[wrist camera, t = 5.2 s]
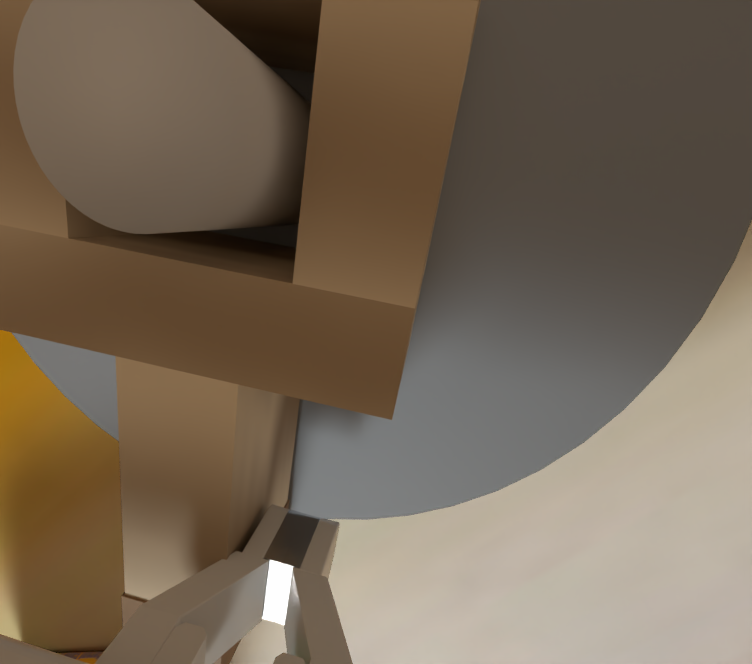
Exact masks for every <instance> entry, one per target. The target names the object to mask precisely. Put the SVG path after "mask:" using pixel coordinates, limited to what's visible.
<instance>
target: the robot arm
mask: <svg viewBox="0 0 752 664" xmlns="http://www.w3.org/2000/svg"><path fill="white" fill-rule="evenodd" d="M338 531H339V522H335V521H331V520H327V519H324V518H319V517H315V516H312V515H308V514H304V513H301V512H298V511H295V510H291V509H290V510H289V509H286V508H283V507H280V506H277V505H273V504H272V505H271V506H270V507H269V508H268V510H267V511H266V513H265V515H264V516H263V518H262V520H261V521H260V523H259V525H258V526H257V528H256V530H255V531H254V533H253V535H252V536H251V538H250V540H249V541H248V543H247V545H246V546H245V548H244V550H243V551H242V552H238V551H235V552H234V553H232V554H230V556H229V557H228V559H227V560H224V559H221V560H220V561H218V562H216V563H214V564H212V565H211V566H209V567H207V568H205V569H204V570H202V571H200V572H198V573H197V574H195V575H193V576H191V577H189V578H188V579H186V580H184V581H182V582H181V583H179V584H177V585H175V586H174V587H172V588H170V589H168V590H166V591H165V592H163V593H161V594H159V595H158V596H156V597H154V598H152V599H151V600H149V601H147V602H145V603H143V604H142V605H140V606H139V608H138V609H137V610H136V611H135V613H134V614H133V615H132V616H131V618H130V619H129V620H128V622H127V623H126V624H125V625H124V627H123V628H122V629H121V631H120V632H119V633H118V634H117V636H116V637H115V638H114V639H113V641H112V642H111V643H110V645H109V646H108V647H107V648H106V650H105V651H104V652H103V653H102V655H101V656H100V657H99V659H98V660H97V661H96V662H95V664H213V663H214V662H215V661H216V660H218V659H219V658H220V657H221V656H222V655H223V654H224V653H225V652H227V651H228V650H229V649H230V648H231V647H232V646H233V645H235V644H236V643H237V642H238V641H239V640H240V639H241V638H243V637H244V636H245V635H246V634H247V633H248V632H249V631H251V630H252V629H253V628H254V627H255V626H256V625H257V624H258V623H260V622H261V621H262V618H263V619H267V620H270V621H274V622H277V623H280V624H283V625H284V630H285V638H286V646H287V654H286V653H282V654H281V655H279V656H277V657H276V658H275V660H274V663H273V664H353V663H352V660H351V656H350V653H349V650H348V646H347V643H346V639H345V636H344V633H343V629H342V626H341V623H340V619H339V616H338V612H337V609H336V606H335V602H334V599H333V595H332V592H331V589H330V585H329V582H328V578H329V574H330V570H331V565H332V561H333V557H334V552H335V547H336V541H337V536H338ZM0 664H88V663H85V662H82V661H79V660H76V659H73V658H70V657H67V656H64V655H61V654H58V653H55V652H52V651H49V650H46V649H43V648H40V647H37V646H34V645H31V644H28V643H25V642H22V641H19V640H16V639H13V638H10V637H7V636H4V635H1V634H0Z"/></svg>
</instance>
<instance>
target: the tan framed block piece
mask: <svg viewBox="0 0 752 664" xmlns="http://www.w3.org/2000/svg"><path fill="white" fill-rule="evenodd" d="M32 1H33V0H0V330H4V331H9V332H13V333H17V334H22V335H26V336H30V337H35V338H39V339H43V340H48V341H52V342H56V343H61V344H65V345H69V346H74V347H78V348H82V349H87V350H91V351H95V352H100V353H104V354H108V355H113V356H115V358H116V383H117V408H118V433H119V457H120V482H121V507H122V532H123V557H124V582H125V592H124V594H123V595H122V596H121V599H122V621H123V627H124V625H125V624H126V623H127V622H128V620H129V619H130V618H131V616H132V615H133V614H134V613H135V611H136V610H137V609H138V608H139V606H140V605H142V604H143V603H145V602H147V601H149V600H151V599H152V598H154V597H156V596H158V595H159V594H161V593H163V592H165V591H166V590H168V589H170V588H172V587H174V586H175V585H177V584H179V583H181V582H182V581H184V580H186V579H188V578H189V577H191V576H193V575H195V574H197V573H198V572H200V571H202V570H204V569H205V568H207V567H209V566H211V565H212V564H214V563H216V562H218V561H220V560H221V559H224V560H227V559H228V557H229V556H230V554H232V553H234V552H235V551H238V552H242V551H243V550H244V548H245V546H246V545H247V543H248V541H249V540H250V538H251V536H252V535H253V533H254V531H255V530H256V528H257V526H258V525H259V523H260V521H261V520H262V518H263V516H264V515H265V513H266V511H267V510H268V508H269V507H270V506H271V505H272V504H273V505H277V506H280V507H283V508H286V509H288V508H289V500H288V492H289V484H290V475H291V467H292V459H293V451H294V443H295V434H296V426H297V418H298V410H299V401H300V399H303V400H307V401H312V402H316V403H320V404H324V405H329V406H333V407H337V408H342V409H346V410H350V411H355V412H359V413H363V414H368V415H372V416H376V417H381V418H385V419H389V420H392V418H393V413H394V409H395V405H396V400H397V396H398V391H399V387H400V383H401V378H402V374H403V369H404V365H405V361H406V356H407V352H408V347H409V343H410V338H411V333H412V328H413V323H414V319H415V314H416V309H417V304H418V300H419V295H420V290H421V285H422V280H423V276H424V271H425V266H426V261H427V256H428V252H429V247H430V242H431V237H432V232H433V228H434V223H435V218H436V213H437V208H438V204H439V199H440V194H441V189H442V184H443V180H444V175H445V170H446V165H447V160H448V156H449V151H450V146H451V141H452V136H453V132H454V127H455V122H456V117H457V112H458V108H459V103H460V98H461V93H462V88H463V84H464V79H465V74H466V69H467V64H468V60H469V55H470V50H471V45H472V40H473V36H474V31H475V26H476V21H477V16H478V12H479V7H480V2H481V0H194V1H195V2H196V3H197V4H198V5H199V6H200V7H202V8H203V9H204V10H205V11H206V12H207V13H208V14H210V15H211V16H212V17H213V18H214V19H215V20H216V21H217V22H219V23H220V24H221V25H222V26H223V27H224V28H225V29H227V30H228V31H229V32H230V33H231V34H232V35H233V36H235V37H236V38H237V39H238V40H239V41H240V42H241V43H243V44H244V45H245V46H246V47H247V48H248V49H249V50H251V51H252V52H253V53H254V54H255V55H256V56H257V57H259V58H260V59H261V60H262V61H263V62H264V63H265V64H266V65H268V66H269V67H276V68H282V69H289V70H296V71H303V72H309V73H314V83H313V92H312V102H311V111H310V121H309V130H308V140H307V150H306V159H305V169H304V178H303V188H302V197H301V207H300V217H299V226H298V236H297V245H296V248H293V247H288V246H283V245H278V244H272V243H267V242H262V241H257V240H252V239H247V238H241V237H236V236H231V235H226V234H221V233H215V232H210V231H205V230H204V231H188V232H173V233H157V234H133V233H127V232H122V231H119V230H115V229H112V228H109V227H107V226H104V225H102V224H100V223H98V222H96V221H94V220H93V219H91V218H89V217H88V216H86V215H84V214H83V213H82V212H80V211H79V210H78V209H76V208H75V207H74V206H73V205H71V204H70V203H69V202H68V201H67V200H66V199H65V198H64V197H63V196H62V195H61V194H60V193H59V192H58V191H57V189H56V188H55V187H54V186H53V185H52V183H51V182H50V181H49V180H48V178H47V177H46V175H45V174H44V172H43V171H42V169H41V168H40V166H39V164H38V162H37V161H36V159H35V157H34V155H33V153H32V151H31V149H30V147H29V144H28V142H27V140H26V138H25V135H24V132H23V129H22V126H21V123H20V119H19V115H18V110H17V106H16V100H15V92H14V76H13V66H14V55H15V48H16V43H17V38H18V33H19V30H20V27H21V24H22V21H23V18H24V16H25V14H26V12H27V10H28V8H29V6H30V4H31V3H32ZM240 640H241V639H240ZM240 640H239V641H238V642H237V643H236V644H235V645H233V646H232V647H231V648H230V649H229V650H228V651H227V652H225V653H224V654H223V655H222V656H221V657H220V658H219V659H218V660H216V661H215V662H214V663H213V664H229V663H230V661H231V659H232V657H233V655H234V653H235V651H236V648H237V646H238V644H239V642H240Z"/></svg>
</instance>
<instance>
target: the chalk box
mask: <svg viewBox="0 0 752 664" xmlns="http://www.w3.org/2000/svg"><path fill="white" fill-rule="evenodd" d="M103 652H104V651H103ZM103 652H71V653H58V654H61V655H64V656H67V657H70V658H73V659H76V660H79V661H82V662H85V663H88V664H95V662H96V661H97V660H98V659H99V657H100V656H101V655H102V653H103Z"/></svg>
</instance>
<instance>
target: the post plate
mask: <svg viewBox="0 0 752 664" xmlns="http://www.w3.org/2000/svg"><path fill="white" fill-rule="evenodd" d="M13 76H14V92H15V100H16V106H17V110H18V115H19V119H20V123H21V126H22V129H23V132H24V135H25V138H26V140H27V142H28V144H29V147H30V149H31V151H32V153H33V155H34V157H35V159H36V161H37V162H38V164H39V166H40V168H41V169H42V171H43V172H44V174H45V175H46V177H47V178H48V180H49V181H50V182H51V183H52V185H53V186H54V187H55V188H56V189H57V191H58V192H59V193H60V194H61V195H62V196H63V197H64V198H65V199H66V200H67V201H68V202H69V203H70V204H71V205H73V206H74V207H75V208H76V209H78V210H79V211H80V212H82V213H83V214H84V215H86V216H88V217H89V218H91V219H93V220H94V221H96V222H98V223H100V224H102V225H104V226H107V227H109V228H112V229H115V230H119V231H122V232H127V233H133V234H157V233H173V232H188V231H204V230H205V231H210V232H215V233H221V234H226V235H231V236H236V237H241V238H247V239H252V240H257V241H262V242H267V243H272V244H278V245H283V246H288V247H293V248H296V245H297V236H298V226H299V217H300V207H301V197H302V188H303V178H304V169H305V159H306V150H307V140H308V130H309V121H310V111H311V102H312V92H313V83H314V73H309V72H303V71H296V70H289V69H282V68H276V67H269V66H268V65H266V64H265V63H264V62H263V61H262V60H261V59H260V58H259V57H257V56H256V55H255V54H254V53H253V52H252V51H251V50H249V49H248V48H247V47H246V46H245V45H244V44H243V43H241V42H240V41H239V40H238V39H237V38H236V37H235V36H233V35H232V34H231V33H230V32H229V31H228V30H227V29H225V28H224V27H223V26H222V25H221V24H220V23H219V22H217V21H216V20H215V19H214V18H213V17H212V16H211V15H210V14H208V13H207V12H206V11H205V10H204V9H203V8H202V7H200V6H199V5H198V4H197V3H196V2H195V1H194V0H33V1H32V3H31V4H30V6H29V8H28V10H27V12H26V14H25V16H24V18H23V21H22V24H21V27H20V30H19V33H18V38H17V43H16V48H15V55H14V66H13ZM751 220H752V0H481V2H480V7H479V12H478V16H477V21H476V26H475V31H474V36H473V40H472V45H471V50H470V55H469V60H468V64H467V69H466V74H465V79H464V84H463V88H462V93H461V98H460V103H459V108H458V112H457V117H456V122H455V127H454V132H453V136H452V141H451V146H450V151H449V156H448V160H447V165H446V170H445V175H444V180H443V184H442V189H441V194H440V199H439V204H438V208H437V213H436V218H435V223H434V228H433V232H432V237H431V242H430V247H429V252H428V256H427V261H426V266H425V271H424V276H423V280H422V285H421V290H420V295H419V300H418V304H417V309H416V314H415V319H414V323H413V328H412V333H411V338H410V343H409V347H408V352H407V356H406V361H405V365H404V369H403V374H402V378H401V383H400V387H399V391H398V396H397V400H396V405H395V409H394V413H393V418H392V420H389V419H385V418H381V417H376V416H372V415H368V414H363V413H359V412H355V411H350V410H346V409H342V408H337V407H333V406H329V405H324V404H320V403H316V402H312V401H307V400H303V399H300V401H299V410H298V418H297V426H296V434H295V443H294V451H293V459H292V467H291V475H290V484H289V492H288V500H289V508H288V509H289V510H290V509H291V510H295V511H298V512H301V513H304V514H308V515H312V516H315V517H319V518H324V519H377V518H387V517H398V516H408V515H414V514H418V513H423V512H427V511H432V510H437V509H441V508H446V507H451V506H454V505H457V504H460V503H463V502H466V501H469V500H472V499H475V498H478V497H481V496H484V495H487V494H490V493H492V492H495V491H498V490H500V489H502V488H504V487H506V486H508V485H510V484H512V483H515V482H517V481H519V480H521V479H523V478H525V477H527V476H529V475H531V474H533V473H535V472H537V471H540V470H541V469H543V468H544V467H546V466H548V465H549V464H551V463H552V462H554V461H555V460H557V459H559V458H560V457H562V456H563V455H565V454H567V453H568V452H570V451H571V450H573V449H574V448H576V447H578V446H579V445H581V444H582V443H584V442H585V441H586V440H587V439H589V438H590V437H591V436H592V435H593V434H595V433H596V432H597V431H598V430H600V429H601V428H602V427H603V426H604V425H606V424H607V423H608V422H609V421H611V420H612V419H613V418H614V417H615V416H617V415H618V414H619V413H620V412H622V411H623V410H624V409H625V408H626V407H627V406H628V405H629V404H630V403H631V402H632V401H633V400H634V399H635V398H636V397H637V396H638V395H639V394H640V393H641V391H642V390H643V389H644V388H645V387H646V386H647V385H648V384H649V383H650V382H651V381H652V380H653V379H654V378H655V377H656V376H657V375H658V374H659V373H660V372H661V371H662V370H663V369H664V367H665V366H666V365H667V364H668V362H669V361H670V360H671V358H672V357H673V356H674V354H675V353H676V352H677V350H678V349H679V348H680V346H681V345H682V344H683V342H684V341H685V340H686V338H687V337H688V336H689V334H690V333H691V332H692V330H693V329H694V328H695V326H696V325H697V324H698V322H699V321H700V320H701V318H702V317H703V315H704V313H705V311H706V310H707V308H708V306H709V304H710V303H711V301H712V299H713V297H714V296H715V294H716V292H717V290H718V289H719V287H720V285H721V283H722V282H723V280H724V278H725V276H726V275H727V273H728V271H729V270H730V268H731V266H732V264H733V263H734V261H735V258H736V256H737V254H738V251H739V249H740V246H741V244H742V242H743V239H744V237H745V235H746V232H747V230H748V227H749V225H750V223H751ZM12 334H13V335H14V336H15V338H16V339H17V340H18V342H19V343H20V344H21V345H22V347H23V348H24V349H25V351H26V352H27V353H28V355H29V356H30V357H31V359H32V360H33V361H34V363H35V364H36V365H37V366H38V367H39V368H40V369H41V370H42V371H43V373H44V374H45V375H46V376H47V377H48V378H49V379H50V380H51V381H52V382H53V383H54V385H55V386H56V387H57V388H58V389H59V390H60V391H61V392H62V393H63V394H64V396H65V397H67V398H68V399H69V400H70V401H71V402H72V403H73V404H74V405H75V406H76V407H78V408H79V409H80V410H81V411H82V412H83V413H84V414H85V415H86V416H88V417H89V418H90V419H91V420H92V421H93V422H94V423H95V424H96V425H97V426H99V427H100V428H101V429H103V430H104V431H105V432H107V433H108V434H109V435H111V436H112V437H114V438H115V439H116V440H118V441H119V433H118V408H117V383H116V358H115V356H113V355H108V354H104V353H100V352H95V351H91V350H87V349H82V348H78V347H74V346H69V345H65V344H61V343H56V342H52V341H48V340H43V339H39V338H35V337H30V336H26V335H22V334H17V333H13V332H12Z"/></svg>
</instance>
